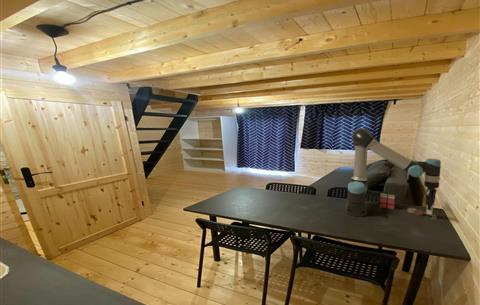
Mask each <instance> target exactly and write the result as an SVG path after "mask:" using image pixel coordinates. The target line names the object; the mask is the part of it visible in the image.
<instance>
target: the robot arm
mask: <svg viewBox="0 0 480 305" xmlns="http://www.w3.org/2000/svg"><path fill="white" fill-rule="evenodd" d="M351 139H352V141H353V144H352V145H353V147H354V150H355V151H354V162H353V163H354V166H353V175H352V176H351V177H350V182H349V183H348V184H347V201H346V205H345V206H344V207H345V208H344V212H345V213H346V214H347V215H349V216H354V217H361V218H362V217H366V216H367V214H368V211H367V208H366V205H365V201H366V200H365V199H366V198H365V197H366V193H367V190H368V177H367V175H366V174H367V162H368V151H369V150H370V151H371V152H373V153H375V154H376V155H378V156H379V157H382V158H383V159H385V160H386V161H388V162H389V163H391V164H393V165H394V166H396V167H398V168H400V169H401V170H403V171H405V172H406V173H407V174H408V175H410V176H411V177H414V178H419V177H421V176H422V175H423V174H424V183H423V184H424V187H425V188H426V192H425V193H424V194H425V205H426V213H427V214H431V215H433V210H434V206H435V205H436V204H435V200H436V194H437V189H439V187H440V180H441V168H442V167H441V166H442V165H441V164H442V163H441V162H442V161H441V160H440V159H437V158H426V159H425V161H416V160H415V161H414V160H410V159H409V158H407V157H406V156H404V155H402V154H400V153H398V152H397V151H395V150H393V149H392V148H390V147H388V146H386V145H384V143H381V142H380V141H377V139H376V138H375V137H374V136H373V135H372V133H371V131H370V130H369V129H367V128H359V129H357V130H355V131H354V132H352V136H351Z"/></svg>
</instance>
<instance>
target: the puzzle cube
mask: <svg viewBox="0 0 480 305" xmlns="http://www.w3.org/2000/svg"><path fill="white" fill-rule="evenodd" d="M378 203H379V204H378V208H379V210H380V209H381V210H383V209H384V208H385V209H392V210H395V207H396V206H395V205H396V195H395V194H389V193H388V194H387V193H382V192H381V193H380V195H379V202H378Z"/></svg>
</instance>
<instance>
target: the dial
mask: <svg viewBox="0 0 480 305" xmlns="http://www.w3.org/2000/svg"><path fill="white" fill-rule="evenodd" d="M406 210H407V211H406V212H407V213H408V214H410V215H413V216H418V217H419V216H420V217H421V216H423V215H425V216H426V215H427V216H428V217H432V215H433V214H432V215H431V214H427V211H426V212H424V211H423V210H421V209H419V208H415V207H408V208H407V209H406Z"/></svg>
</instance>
